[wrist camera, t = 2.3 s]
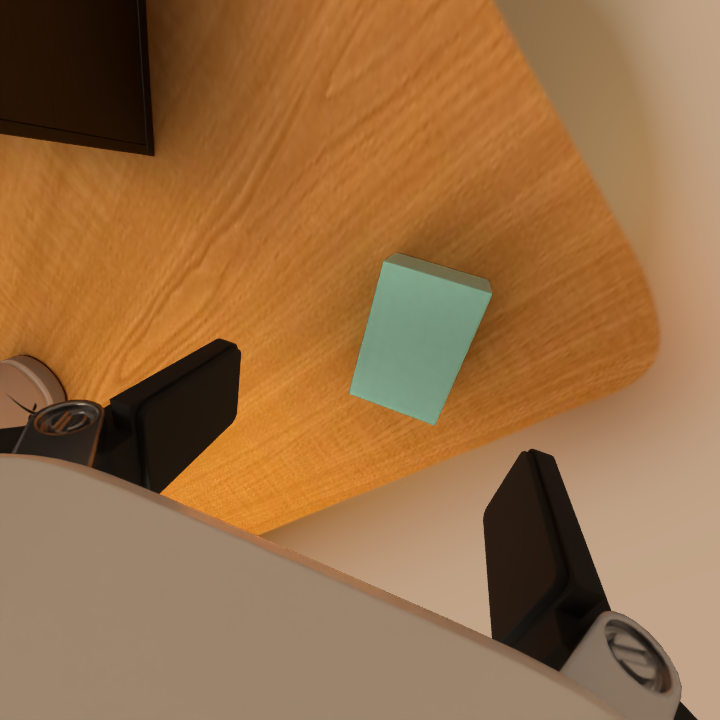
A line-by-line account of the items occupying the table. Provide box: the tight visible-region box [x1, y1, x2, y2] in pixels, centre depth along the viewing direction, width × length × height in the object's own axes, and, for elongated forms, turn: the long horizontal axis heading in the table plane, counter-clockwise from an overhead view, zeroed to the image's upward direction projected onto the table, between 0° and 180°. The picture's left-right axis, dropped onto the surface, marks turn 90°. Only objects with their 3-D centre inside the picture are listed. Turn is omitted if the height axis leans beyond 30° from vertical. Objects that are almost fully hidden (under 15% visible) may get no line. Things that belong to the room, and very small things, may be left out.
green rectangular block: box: [349, 252, 492, 425], centre depth 18 cm, size 5×8×3 cm, turn 166°
